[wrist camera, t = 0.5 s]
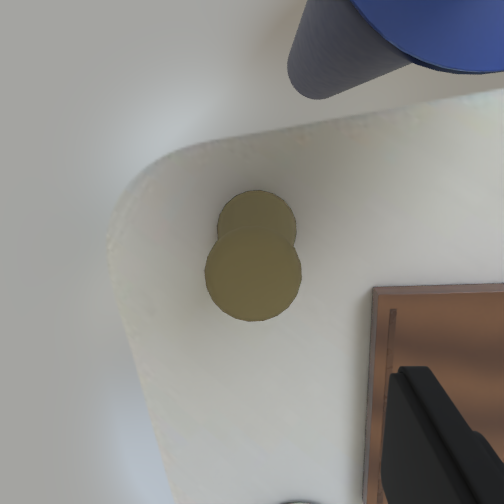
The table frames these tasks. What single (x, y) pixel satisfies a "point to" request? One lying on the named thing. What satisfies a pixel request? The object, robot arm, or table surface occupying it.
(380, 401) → the cutting board
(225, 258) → the olive tapered rounded piece
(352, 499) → the table surface
